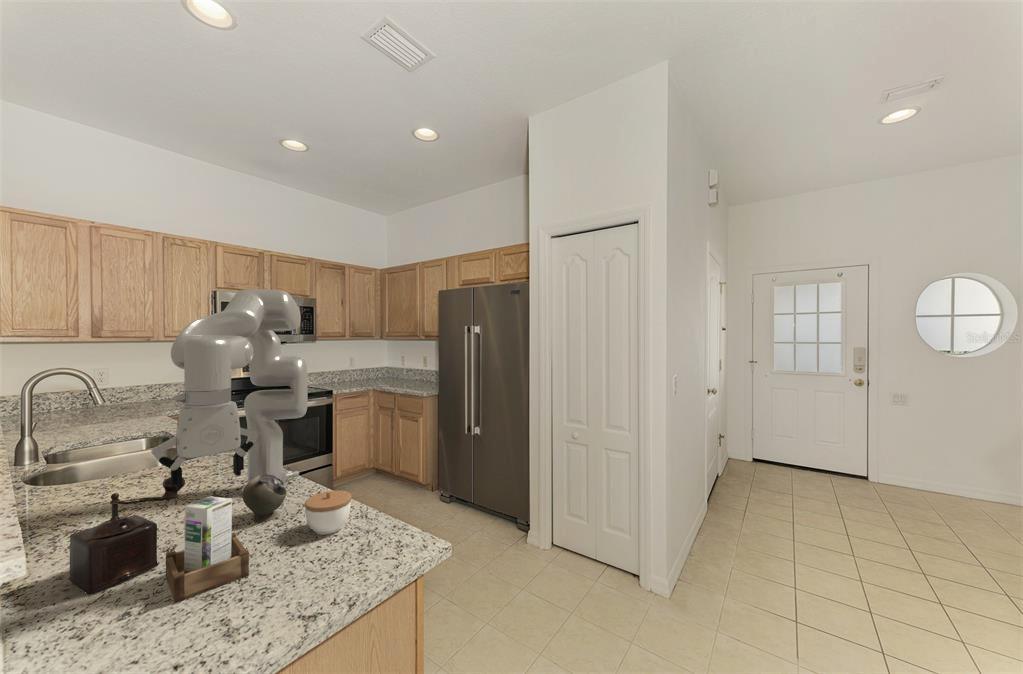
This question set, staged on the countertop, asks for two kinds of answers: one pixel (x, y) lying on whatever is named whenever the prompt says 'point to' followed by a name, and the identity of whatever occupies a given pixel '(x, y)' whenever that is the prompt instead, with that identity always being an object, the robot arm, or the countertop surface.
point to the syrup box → (207, 532)
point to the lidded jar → (328, 511)
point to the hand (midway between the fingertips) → (209, 480)
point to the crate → (205, 572)
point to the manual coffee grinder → (116, 547)
